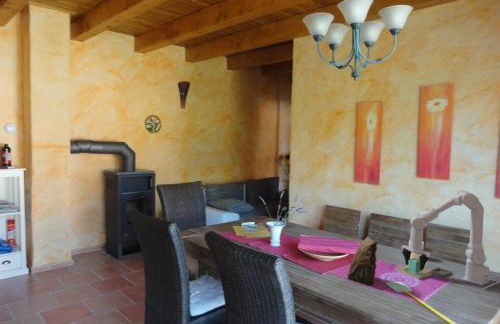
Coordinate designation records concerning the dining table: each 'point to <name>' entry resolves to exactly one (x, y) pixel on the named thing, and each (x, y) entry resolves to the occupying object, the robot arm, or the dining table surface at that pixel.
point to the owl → (364, 263)
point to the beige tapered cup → (415, 255)
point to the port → (413, 274)
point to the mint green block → (414, 265)
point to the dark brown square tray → (441, 272)
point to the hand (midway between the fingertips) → (414, 267)
